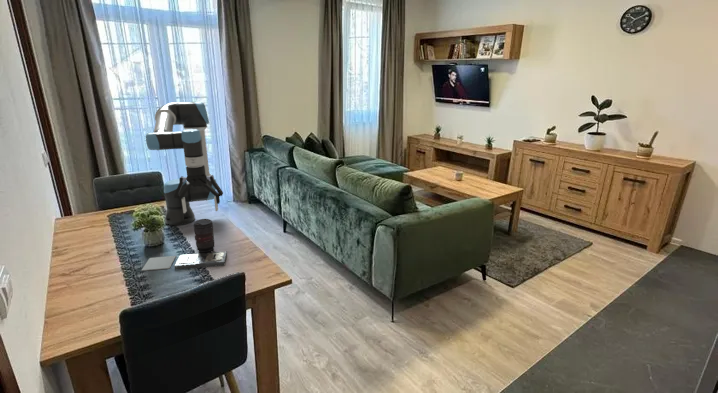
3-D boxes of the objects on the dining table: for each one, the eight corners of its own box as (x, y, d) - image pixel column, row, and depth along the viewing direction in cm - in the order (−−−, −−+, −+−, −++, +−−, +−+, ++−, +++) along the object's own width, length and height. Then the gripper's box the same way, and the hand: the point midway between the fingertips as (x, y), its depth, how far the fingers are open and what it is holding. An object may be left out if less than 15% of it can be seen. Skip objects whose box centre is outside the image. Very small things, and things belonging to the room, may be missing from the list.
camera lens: (209, 255, 170) (205, 225, 165) (193, 254, 172) (189, 224, 167) (219, 248, 178) (215, 219, 173) (203, 246, 179) (200, 217, 174)
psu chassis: (180, 258, 167) (179, 254, 166) (227, 255, 171) (226, 250, 170) (174, 269, 158) (174, 264, 157) (224, 265, 162) (223, 260, 161)
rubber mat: (149, 258, 167) (149, 257, 167) (176, 256, 169) (176, 255, 169) (141, 271, 157) (141, 270, 157) (169, 268, 159) (169, 267, 159)
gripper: (161, 168, 155) (169, 215, 162) (224, 166, 160) (228, 212, 167) (166, 164, 162) (173, 209, 169) (226, 162, 167) (230, 206, 174)
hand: (201, 211), depth 168 cm, fingers open, 13 cm apart
